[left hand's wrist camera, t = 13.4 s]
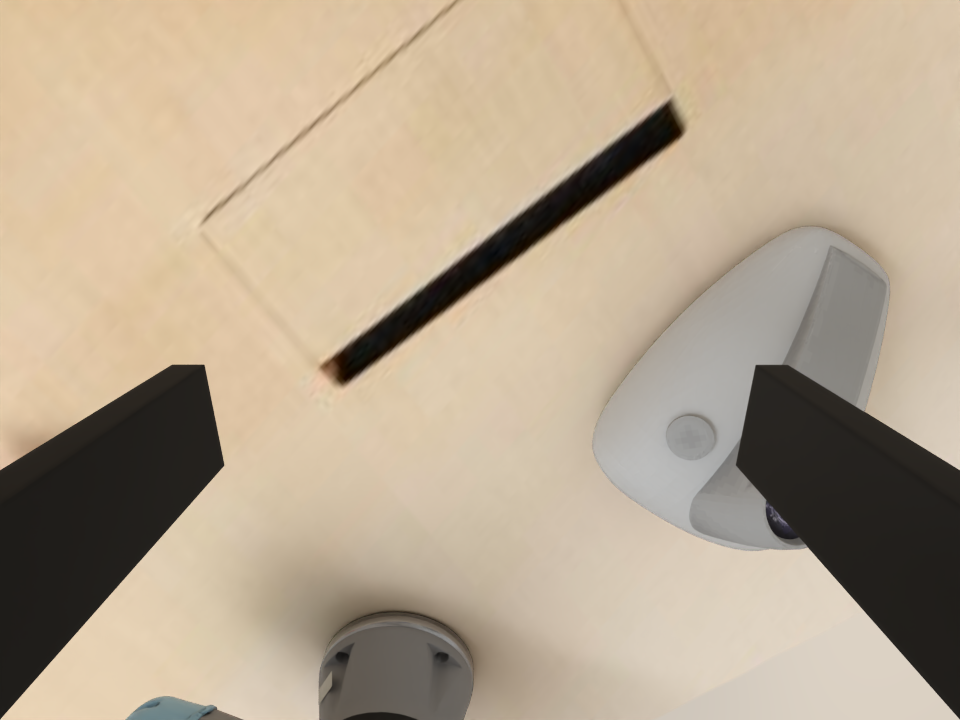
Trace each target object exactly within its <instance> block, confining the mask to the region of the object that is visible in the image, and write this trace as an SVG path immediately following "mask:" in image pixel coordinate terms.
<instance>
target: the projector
mask: <svg viewBox="0 0 960 720" xmlns="http://www.w3.org/2000/svg"><path fill="white" fill-rule="evenodd" d="M889 296H890V284H889V278H888V276H887V274H886V272H885V271H884V269H883V268H882V267H881V266H880V265H879V263H877V262H876V261H875V260H874V259H873V258H872V257H871V256H870V255H868V254H867V253H866V252H864V251H863V250H862V249H861V248H859V247H858V246H856V245H855V244H853V243H852V242H850V241H849V240H847V239H846V238H844V237H843V236H841V235H839V234H837V233H835V232H833V231H831V230H828V229H826V228H822V227H817V226H806V227H799V228H795V229H792V230H789V231H787V232H785V233H783V234H781V235H779V236H778V237H776V238H774V239H773V240H771V241H770V242H768V243H766V244H765V245H764V246H762V247H761V248H759V249H758V250H756V251H755V252H753V253H752V254H751V255H749V256H748V257H747V258H745V259H744V260H743V261H742V262H740V263H739V264H738V265H736V266H735V267H734V268H732V269H731V270H730V271H729V272H727V273H726V274H725V275H724V276H723V277H721V278H720V279H719V280H718V281H717V282H715V283H714V284H713V285H712V286H711V287H709V288H708V289H707V290H706V291H705V292H704V293H703V294H702V295H701V296H699V297H698V298H697V299H696V300H695V301H694V302H693V303H692V304H691V305H690V306H689V307H688V308H687V309H686V310H685V311H684V312H682V313H681V314H680V315H679V316H678V318H677V319H676V320H675V321H674V322H673V323H672V324H671V325H670V326H669V327H668V328H667V329H666V330H665V331H664V332H663V333H662V334H661V335H660V337H659V338H658V339H657V340H656V341H655V342H654V343H653V345H652V346H651V347H650V348H649V349H648V350H647V351H646V353H645V354H644V355H643V356H642V357H641V359H640V360H639V361H638V362H637V363H636V365H635V366H634V367H633V368H632V370H631V371H630V372H629V374H628V375H627V376H626V377H625V379H624V380H623V381H622V383H621V384H620V385H619V387H618V388H617V390H616V391H615V393H614V394H613V395H612V397H611V398H610V400H609V402H608V403H607V405H606V406H605V408H604V410H603V411H602V413H601V415H600V417H599V419H598V422H597V424H596V427H595V430H594V433H593V441H592V447H593V452H594V456H595V458H596V461H597V463H598V465H599V466H600V468H601V470H602V471H603V472H604V474H605V475H606V477H607V478H608V479H609V480H610V481H611V482H612V483H613V484H614V485H615V486H616V487H617V488H618V489H619V490H620V491H621V492H623V493H624V494H625V495H626V496H628V497H629V498H631V499H632V500H634V501H635V502H636V503H638V504H639V505H641V506H642V507H644V508H645V509H647V510H649V511H650V512H652V513H653V514H655V515H657V516H658V517H660V518H662V519H663V520H665V521H667V522H669V523H671V524H672V525H674V526H676V527H678V528H680V529H682V530H684V531H686V532H688V533H690V534H692V535H694V536H697V537H699V538H702V539H704V540H707V541H709V542H712V543H715V544H718V545H721V546H725V547H729V548H733V549H738V550H745V551H760V550H767V549H777V550H790V549H804V548H807V546H806V544H805V543H804V542H803V541H802V540H801V539H800V538H799V537H798V535H797V534H796V533H795V532H794V531H793V530H792V529H791V528H790V526H789V525H788V524H787V523H786V522H785V521H784V520H783V518H782V517H781V516H780V515H779V514H778V513H777V512H776V511H775V509H774V508H773V507H772V506H771V505H770V504H769V503H768V501H767V500H766V499H765V498H764V497H763V496H762V495H761V494H760V492H759V491H758V490H757V489H756V488H755V487H754V486H753V484H752V483H751V482H750V481H749V480H748V479H747V478H746V477H745V475H744V474H743V473H742V472H741V471H740V470H739V469H738V467H737V466H736V461H737V456H738V451H739V446H740V441H741V436H742V431H743V426H744V421H745V416H746V411H747V406H748V401H749V396H750V391H751V385H752V380H753V375H754V370H755V365H789V366H791V367H792V368H794V369H795V370H797V371H799V372H800V373H802V374H804V375H805V376H807V377H809V378H810V379H812V380H813V381H815V382H817V383H818V384H820V385H822V386H823V387H825V388H826V389H828V390H830V391H831V392H833V393H835V394H836V395H838V396H839V397H841V398H843V399H844V400H846V401H848V402H849V403H851V404H852V405H854V406H856V407H857V408H859V409H861V410H862V411H865V408H866V405H867V401H868V398H869V394H870V390H871V386H872V383H873V379H874V375H875V371H876V368H877V363H878V358H879V354H880V349H881V345H882V340H883V335H884V330H885V324H886V318H887V312H888V305H889Z"/></svg>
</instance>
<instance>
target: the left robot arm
mask: <svg viewBox="0 0 960 720" xmlns="http://www.w3.org/2000/svg"><path fill="white" fill-rule="evenodd" d="M223 466H224V461H223V456H222V451H221V446H220V441H219V436H218V431H217V426H216V421H215V416H214V411H213V406H212V401H211V396H210V391H209V386H208V380H207V375H206V370H205V365H171V366H169V367H168V368H166V369H165V370H163V371H161V372H160V373H158V374H156V375H155V376H153V377H151V378H150V379H148V380H147V381H145V382H143V383H142V384H140V385H138V386H137V387H135V388H134V389H132V390H130V391H129V392H127V393H125V394H124V395H122V396H121V397H119V398H117V399H116V400H114V401H112V402H111V403H109V404H108V405H106V406H104V407H103V408H101V409H99V410H98V411H96V412H94V413H93V414H91V415H90V416H88V417H86V418H85V419H83V420H81V421H80V422H78V423H77V424H75V425H73V426H72V427H70V428H68V429H67V430H65V431H64V432H62V433H60V434H59V435H57V436H55V437H54V438H52V439H50V440H49V441H47V442H46V443H44V444H42V445H41V446H39V447H37V448H36V449H34V450H33V451H31V452H29V453H28V454H26V455H24V456H23V457H21V458H20V459H18V460H16V461H15V462H13V463H11V464H10V465H8V466H7V467H5V468H3V469H2V470H0V719H1V718H2V717H3V716H4V714H5V713H6V712H7V711H8V710H9V709H10V708H11V706H12V705H13V704H14V703H15V702H16V701H17V700H18V699H19V697H20V696H21V695H22V694H23V693H24V692H25V691H26V689H27V688H28V687H29V686H30V685H31V684H32V683H33V682H34V680H35V679H36V678H37V677H38V676H39V675H40V674H41V672H42V671H43V670H44V669H45V668H46V667H47V666H48V665H49V663H50V662H51V661H52V660H53V659H54V658H55V657H56V655H57V654H58V653H59V652H60V651H61V650H62V649H63V648H64V646H65V645H66V644H67V643H68V642H69V641H70V640H71V639H72V637H73V636H74V635H75V634H76V633H77V632H78V631H79V629H80V628H81V627H82V626H83V625H84V624H85V623H86V622H87V620H88V619H89V618H90V617H91V616H92V615H93V614H94V612H95V611H96V610H97V609H98V608H99V607H100V606H101V605H102V603H103V602H104V601H105V600H106V599H107V598H108V597H109V595H110V594H111V593H112V592H113V591H114V590H115V589H116V588H117V586H118V585H119V584H120V583H121V582H122V581H123V580H124V578H125V577H126V576H127V575H128V574H129V573H130V572H131V571H132V569H133V568H134V567H135V566H136V565H137V564H138V563H139V561H140V560H141V559H142V558H143V557H144V556H145V555H146V554H147V552H148V551H149V550H150V549H151V548H152V547H153V546H154V544H155V543H156V542H157V541H158V540H159V539H160V538H161V537H162V535H163V534H164V533H165V532H166V531H167V530H168V529H169V528H170V526H171V525H172V524H173V523H174V522H175V521H176V520H177V518H178V517H179V516H180V515H181V514H182V513H183V512H184V511H185V509H186V508H187V507H188V506H189V505H190V504H191V503H192V501H193V500H194V499H195V498H196V497H197V496H198V495H199V494H200V492H201V491H202V490H203V489H204V488H205V487H206V486H207V484H208V483H209V482H210V481H211V480H212V479H213V478H214V477H215V475H216V474H217V473H218V472H219V471H220V470H221V469H222V467H223ZM736 466H737V467H738V469H739V470H740V471H741V472H742V473H743V474H744V475H745V477H746V478H747V479H748V480H749V481H750V482H751V483H752V484H753V486H754V487H755V488H756V489H757V490H758V491H759V492H760V494H761V495H762V496H763V497H764V498H765V499H766V500H767V501H768V503H769V504H770V505H771V506H772V507H773V508H774V509H775V511H776V512H777V513H778V514H779V515H780V516H781V517H782V518H783V520H784V521H785V522H786V523H787V524H788V525H789V526H790V528H791V529H792V530H793V531H794V532H795V533H796V534H797V535H798V537H799V538H800V539H801V540H802V541H803V542H804V543H805V544H806V546H807V547H808V548H809V549H810V550H811V551H812V552H813V554H814V555H815V556H816V557H817V558H818V559H819V560H820V561H821V563H822V564H823V565H824V566H825V567H826V568H827V569H828V571H829V572H830V573H831V574H832V575H833V576H834V577H835V578H836V580H837V581H838V582H839V583H840V584H841V585H842V586H843V588H844V589H845V590H846V591H847V592H848V593H849V594H850V595H851V597H852V598H853V599H854V600H855V601H856V602H857V603H858V605H859V606H860V607H861V608H862V609H863V610H864V611H865V612H866V614H867V615H868V616H869V617H870V618H871V619H872V620H873V622H874V623H875V624H876V625H877V626H878V627H879V628H880V629H881V631H882V632H883V633H884V634H885V635H886V636H887V637H888V638H889V640H890V641H891V642H892V643H893V644H894V645H895V646H896V648H897V649H898V650H899V651H900V652H901V653H902V654H903V655H904V657H905V658H906V659H907V660H908V661H909V662H910V663H911V665H912V666H913V667H914V668H915V669H916V670H917V671H918V672H919V674H920V675H921V676H922V677H923V678H924V679H925V680H926V682H927V683H928V684H929V685H930V686H931V687H932V688H933V689H934V691H935V692H936V693H937V694H938V695H939V696H940V697H941V699H942V700H943V701H944V702H945V703H946V704H947V705H948V706H949V708H950V709H951V710H952V711H953V712H954V713H955V714H956V715H957V717H958V718H959V719H960V470H958V469H957V468H955V467H953V466H952V465H950V464H949V463H947V462H945V461H944V460H942V459H940V458H939V457H937V456H936V455H934V454H932V453H931V452H929V451H927V450H926V449H924V448H923V447H921V446H919V445H918V444H916V443H914V442H913V441H911V440H910V439H908V438H906V437H905V436H903V435H901V434H900V433H898V432H896V431H895V430H893V429H892V428H890V427H888V426H887V425H885V424H883V423H882V422H880V421H879V420H877V419H875V418H874V417H872V416H870V415H869V414H867V413H866V412H864V411H862V410H861V409H859V408H857V407H856V406H854V405H852V404H851V403H849V402H848V401H846V400H844V399H843V398H841V397H839V396H838V395H836V394H835V393H833V392H831V391H830V390H828V389H826V388H825V387H823V386H822V385H820V384H818V383H817V382H815V381H813V380H812V379H810V378H809V377H807V376H805V375H804V374H802V373H800V372H799V371H797V370H795V369H794V368H792V367H791V366H789V365H755V370H754V375H753V380H752V385H751V391H750V396H749V401H748V406H747V411H746V416H745V421H744V426H743V431H742V436H741V441H740V446H739V451H738V456H737V461H736ZM472 691H473V662H472V658H471V655H470V652H469V650H468V648H467V647H466V645H465V644H464V642H463V641H462V640H461V639H460V638H459V637H458V636H457V635H456V634H455V633H454V632H453V631H452V630H450V629H449V628H447V627H446V626H444V625H443V624H441V623H439V622H437V621H435V620H432V619H430V618H427V617H424V616H420V615H416V614H411V613H403V612H386V613H378V614H373V615H369V616H365V617H363V618H360V619H358V620H355V621H353V622H351V623H350V624H348V625H346V626H345V627H344V628H342V629H341V630H340V631H339V632H338V633H337V634H336V635H335V636H334V637H333V638H332V640H331V641H330V643H329V645H328V647H327V649H326V652H325V655H324V658H323V661H322V665H321V668H320V673H319V720H464V717H465V714H466V711H467V708H468V705H469V703H470V699H471V695H472ZM126 720H242V719H240V718H237V717H235V716H232V715H229V714H227V713H224V712H222V711H219V710H217V707H215V706H213V705H209V706H203V705H199V704H195V703H192V702H188V701H185V700H181V699H178V698H175V697H170V696H163V697H158V698H154V699H152V700H150V701H148V702H146V703H144V704H143V705H141V706H140V707H139V708H137V709H136V710H135V711H134V712H133V713H132V714H131V715H130V716H129V717H128V718H127V719H126Z"/></svg>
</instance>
